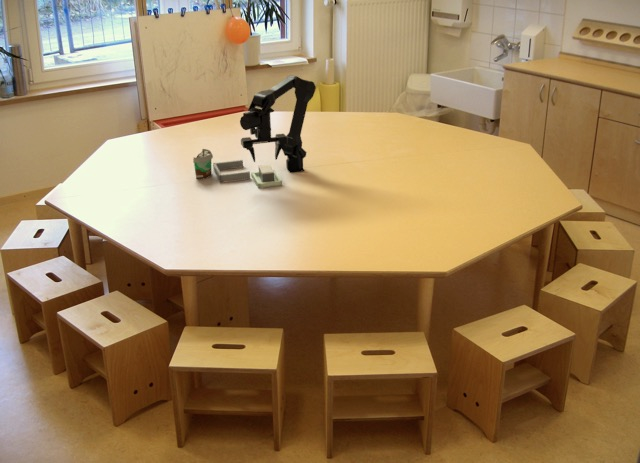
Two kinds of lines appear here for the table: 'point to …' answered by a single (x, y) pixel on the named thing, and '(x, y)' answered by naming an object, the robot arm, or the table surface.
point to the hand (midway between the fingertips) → (265, 160)
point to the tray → (258, 182)
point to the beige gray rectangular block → (266, 173)
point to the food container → (203, 164)
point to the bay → (233, 175)
